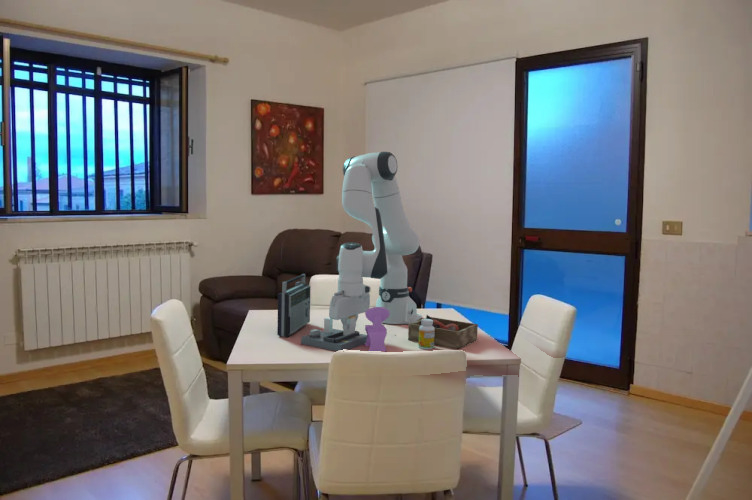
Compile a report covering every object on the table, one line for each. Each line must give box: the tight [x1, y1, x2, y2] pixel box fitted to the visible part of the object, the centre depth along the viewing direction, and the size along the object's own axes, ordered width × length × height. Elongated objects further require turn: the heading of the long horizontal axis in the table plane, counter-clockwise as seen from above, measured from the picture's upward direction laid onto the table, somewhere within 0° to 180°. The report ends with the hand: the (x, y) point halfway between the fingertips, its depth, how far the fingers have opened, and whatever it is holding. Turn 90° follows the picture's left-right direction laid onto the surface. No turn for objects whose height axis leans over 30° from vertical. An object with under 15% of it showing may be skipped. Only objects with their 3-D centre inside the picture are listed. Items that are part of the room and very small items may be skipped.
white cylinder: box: [342, 316, 357, 336], centre depth 213 cm, size 3×3×7 cm
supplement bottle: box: [418, 318, 435, 350], centre depth 209 cm, size 5×5×10 cm
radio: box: [276, 273, 311, 338], centre depth 229 cm, size 24×5×20 cm, turn 168°
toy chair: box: [364, 306, 390, 351], centre depth 205 cm, size 8×9×15 cm
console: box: [300, 317, 367, 352], centre depth 211 cm, size 17×17×8 cm
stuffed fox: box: [425, 314, 462, 331], centre depth 221 cm, size 8×11×12 cm
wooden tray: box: [407, 316, 479, 350], centre depth 220 cm, size 16×20×6 cm
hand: (349, 328), depth 213 cm, fingers closed on white cylinder, 3 cm apart
